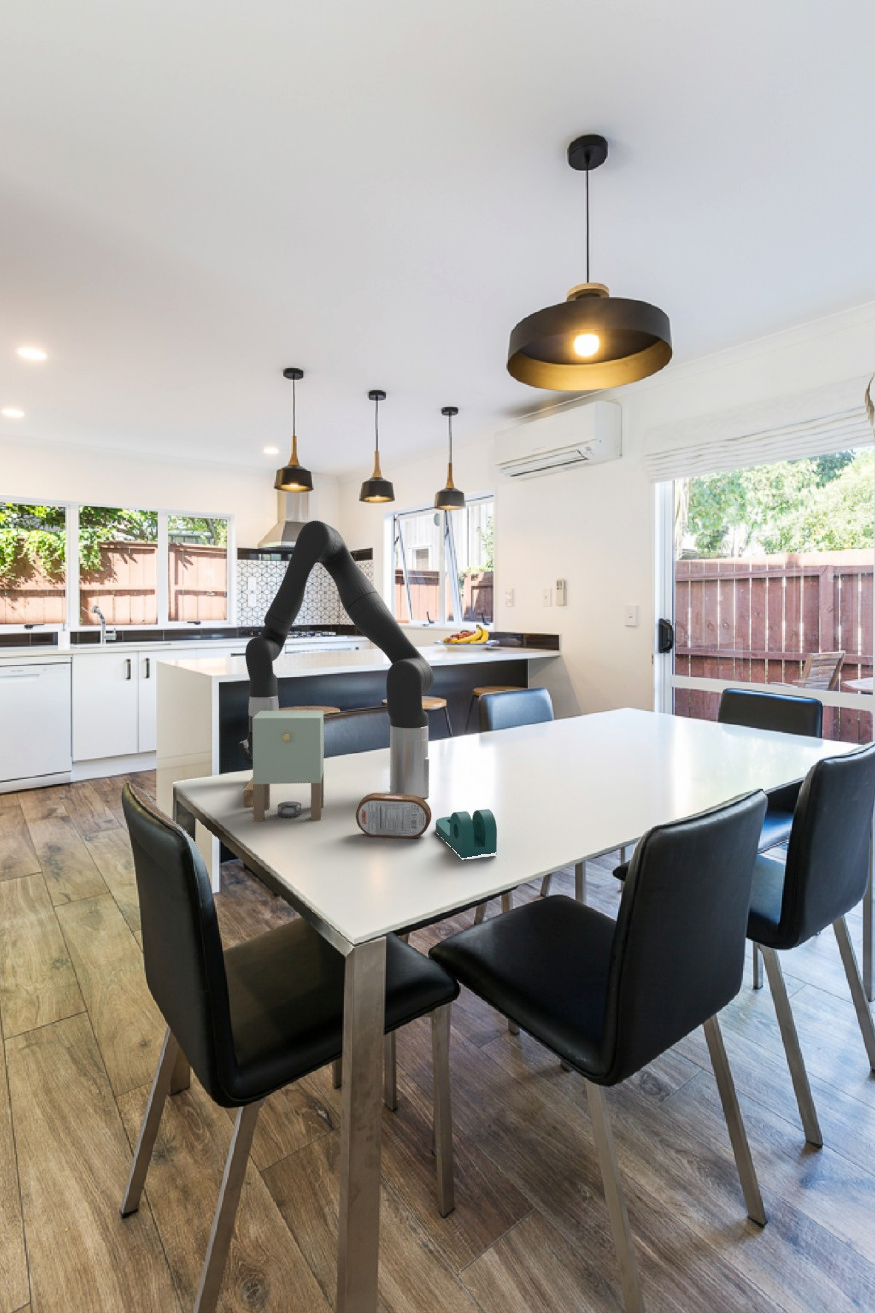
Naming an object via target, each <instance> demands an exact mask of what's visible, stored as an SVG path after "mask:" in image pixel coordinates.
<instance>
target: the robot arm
mask: <svg viewBox="0 0 875 1313" xmlns="http://www.w3.org/2000/svg"><path fill="white" fill-rule="evenodd" d="M303 525H304V526H302V528H301V529H300V531H299V533H298V536H297V539H296V541H295V544H294V546H293V550H292V553H291V556H290V560H289V562H288V565H287V568H286V570H285V574H284V577H283V579H282V581H281V584H280V586H279V588H278V590H277V592H276V594H275V596H274V599H273V600H272V602H271V604H270V606H269V608H268V609H267V612H266V614H265V616H264V618H263V623H264V625H263V629H262V631H261V632H260V635H259V636H255V637H252V638H251V639H249V641H248V642H247V643H246V647H245V652H244V653H245V655H244V656H245V664H246V670H247V675H248V678H249V699H248V712H247V713H248V734H247V735H248V736H246V737H247V738H246V739H245V740H243V741H242V740H241V741H240V742H238V744H237V747H238V749H239V751H240V752H241V755H242V756H243V758H244V760H245V762H246V763H247V764H249V765H250V764H251V765H253V755H252V754H251V752H250V750H249V749H248V748H249V745H250V747H251V748H252V749H253V720H252V718H253V717H254V716H255V715H256V714H258V713H259V712H260V711H280V707H279V706H280V703H279V698H278V696H279V695H278V690H279V689H278V688H279V687H278V676H277V675H276V674H275V673H274V664H273V662H275V660H277V659H278V657H279V656H280V654H281V653H282V651H283V648H284V646H285V643H286V640H287V638H288V634H289V631H290V630H291V628H292V626H293V624H294V622H295V621H296V618H297V617H298V614H299V613H300V610H301V608H302V606H303V602H304V599H305V598H304V597H305V594H306V593H305V592H306V586H307V582H308V579H309V576H310V574H311V572H312V570H313V569H314V566H315V565H316V563H317V562H319V563H320V564H321V565H322V566H323V568H324V570H326V571H327V573H328V574H329V576H330V577H331V578H332V579H333V581H334V583H335V586H336V589H337V593H338V596H339V599H340V602H341V604H342V607H343V609H344V611H345V612H346V614H347V615H348V617H349V618H350V620H351V621H352V623H353V625H354V626H355V627H356V629H357V630H358V631H359V632H360V633H361V634H362V635H363V636H364V637H366V638H367V639H368V640H369V641H370V642H371V643H373V644H374V645H375V646H376V647H378V649H380V651H382V652H383V653H384V654H385V656H387V658H388V660H389V661H390V663H391V665H390V667H389V668H388V671H387V674H386V684H385V686H386V687H385V689H386V690H385V691H386V709H387V714H388V716H389V719H390V724H389V725H390V726H389V727H390V730H389V731H390V732H389V735H390V737H389V739H390V740H389V741H390V742H389V744H390V745H389V794H404V795H416V796H418V797H420V798H422V799H426V798H429V796H430V794H429V793H430V792H429V791H430V758H429V721H430V720H429V714H428V713H427V712H426V711H425V710H424V708H423V697H422V696H423V695H425V694H426V693H428V692H429V691H430V690H431V689H432V688H433V685H434V682H435V677H434V671H433V669H432V667H431V665H430V663H429V662H428V661H427V660H426V659H425V657H424V656H423V655H422V654H421V653H420V651H419V650H418V649H417V648H416V646H415V645H414V643H412V641H410V639H409V637H408V636H407V635H406V633H405V632H404V631H403V629H402V628H401V626H400V624H399V623H398V621H397V619H396V618H395V617H394V616H393V614H392V612H391V611H390V609H389V608H388V606H387V605H386V603H385V602H384V600H383V599H382V596H381V595H380V594H379V592H378V590H377V589H376V588H375V586H373V584H372V583H371V581H370V580H369V579H368V577H367V576H366V575H365V574H364V572H363V571H362V570H361V569H360V567H359V566H358V565H357V563H356V561H355V560H354V557H353V556H352V554H351V552H350V550H349V548H348V546H347V544H346V542H345V540H344V538H343V537H342V535H341V534H340V532H339V531H338V530H337V529H335V528H334V527H332V526H331V525H329V524H328V523H325V522H323V521H321V520H311V521H308V522H307V523H306V524H303Z"/></svg>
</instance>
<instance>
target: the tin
mask: <svg viewBox="0 0 875 1313" xmlns="http://www.w3.org/2000/svg"><path fill="white" fill-rule="evenodd" d="M429 805H430V804H428V802H427V801H426V800H425V799H424V798H420V797H418V796H416V795H404V794H390V793H385V792H372V793H370V794H369V793H368V794H367V795H365V796H364V797H363V798H362V799H360V801H359V802H358V805H357V808H356V811H355V820H356V824H357V826H358V828H359V829H360V830H361V831H362V833H364V834H365V835H368V836H371V837H376V838H377V837H378V838H395V839H417V838H419V837H421V836H422V835H423V834H425V832H426V831H427V830H428V828H429V826H430V824H431V822H432V811H431V810H432V809H431V807H430V806H429Z"/></svg>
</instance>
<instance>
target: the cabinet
mask: <svg viewBox="0 0 875 1313" xmlns="http://www.w3.org/2000/svg"><path fill="white" fill-rule="evenodd" d="M324 713H325V712H324V710H323V709H322V710H279V711H260V712H259V713H258V714H256V715H255V716H254V717H253V718H252V720H253V748H252V757H253V764H252V777H253V807H252V811H253V812H252V813H253V818H252V820H253V822H264V821H265V817H266V816H265V812H266V811H265V809H268V810H270V808H271V785H277V784H278V785H280V784H281V785H282V784H283V785H284V784H285V785H287V784H288V785H289V784H310V820H311V821H318V820H319V821H320V820H321V819H322V809H324V806H325V805H324V804H325V800H324V799H325V798H324V797H325V796H324V795H325V794H324V792H325V790H324V789H325V788H324V786H325V783H324V782H325V780H324V778H325V776H324V774H325V773H324V772H325V768H324V767H325V766H324V764H325V763H324V761H325V760H324V759H325V758H324V756H325V755H324V751H325V749H324V747H325V744H324V743H325V742H324V741H325V738H324V737H325V735H324V732H325V729H324V728H325V727H324V722H325V721H324V716H325V714H324Z"/></svg>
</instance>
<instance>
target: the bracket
mask: <svg viewBox="0 0 875 1313" xmlns="http://www.w3.org/2000/svg"><path fill="white" fill-rule="evenodd" d="M436 832H437V833H438V834H439V836H440V837H442V838H443V839H444V841H445V842H447V843H448V844H449V845H450V846H451V848H453V849H454V850H455V851H456V852H457V854H459V855H460V857H461V858H467V857H472V856H478V855H481V854H491V853H495V852H497V849H498V848H497V847H498V840H497V839H498V837H497V836H498V829H497V822H496V818H495V816H494V813H493V812H492V810H490V809H489V808H487V809H476V810H475V811H473V814H472V817H471V815H470V813H469V812H468V811H466V810H465V811H455V812H452V813H451V815H450V816H445V817H444V816H443V817H440V818H438V819H436V820H435V833H436ZM439 836H438V837H439ZM440 837H439V838H440ZM444 841H443V842H444ZM445 842H444V843H445ZM451 848H450V849H451Z"/></svg>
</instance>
